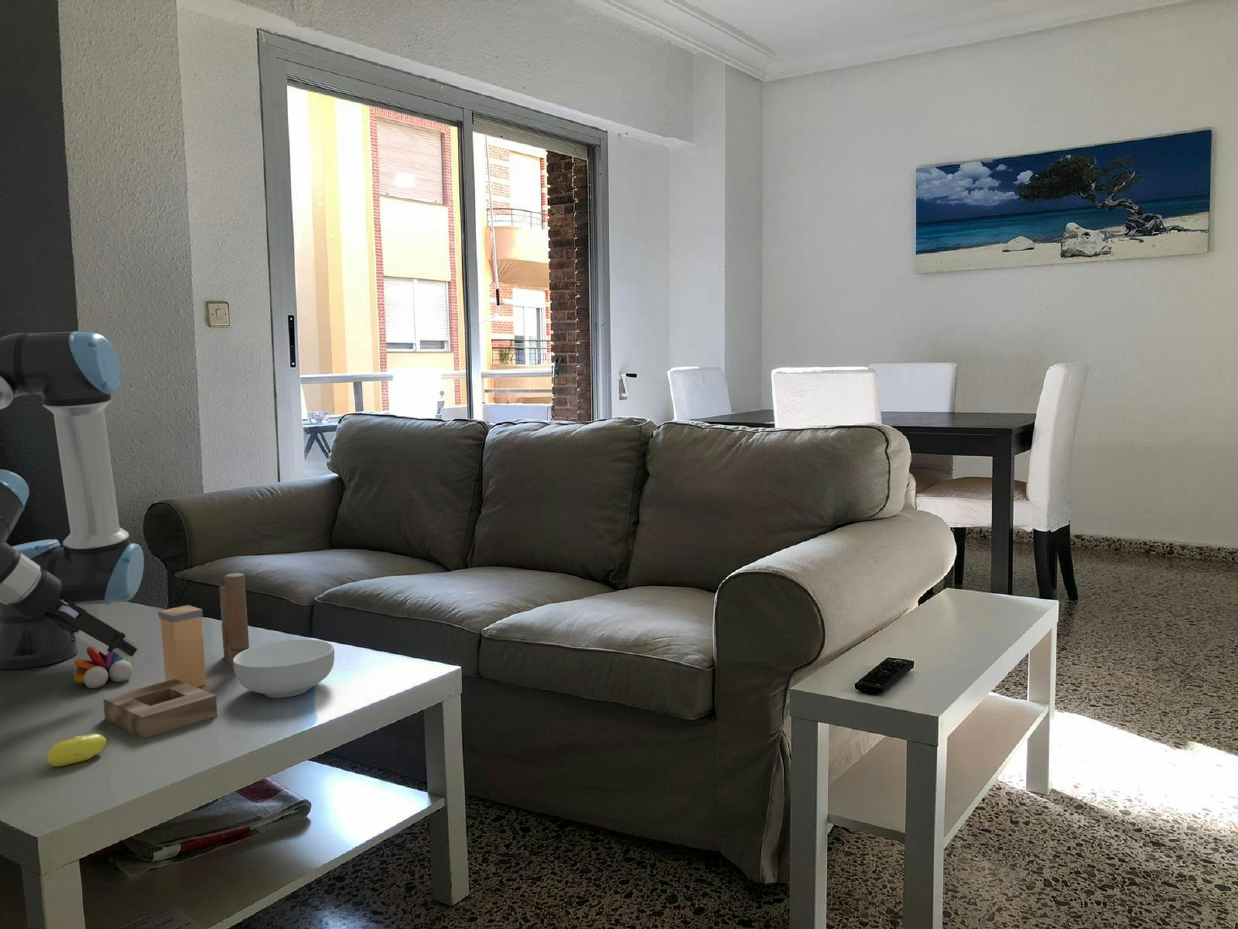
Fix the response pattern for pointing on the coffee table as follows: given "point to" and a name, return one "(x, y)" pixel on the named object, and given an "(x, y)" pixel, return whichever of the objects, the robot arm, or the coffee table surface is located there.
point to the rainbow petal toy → (101, 668)
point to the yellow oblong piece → (76, 749)
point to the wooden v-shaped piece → (234, 616)
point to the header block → (159, 708)
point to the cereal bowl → (284, 666)
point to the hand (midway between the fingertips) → (128, 655)
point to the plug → (183, 645)
